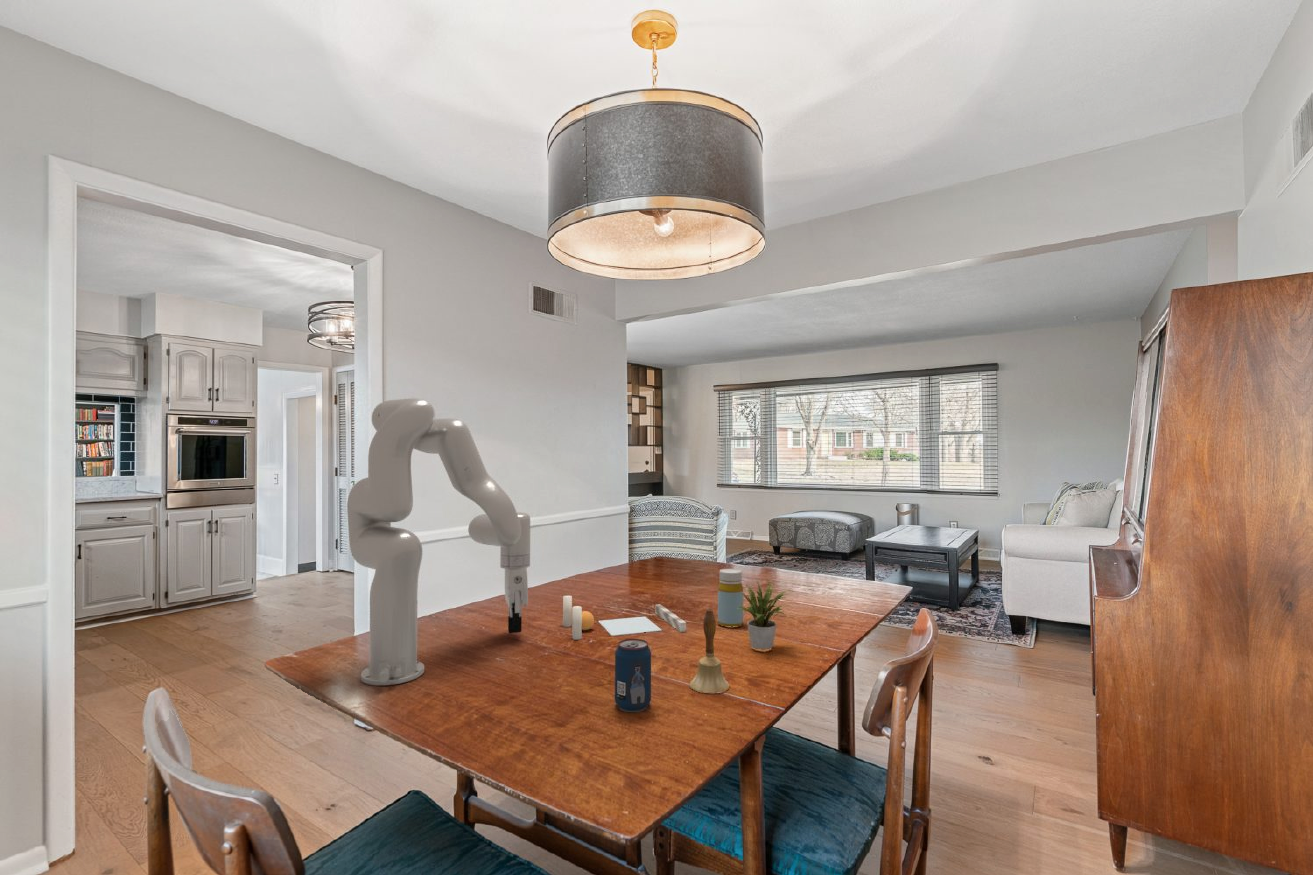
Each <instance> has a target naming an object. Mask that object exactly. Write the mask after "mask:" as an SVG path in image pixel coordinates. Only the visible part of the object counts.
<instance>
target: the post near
mask: <svg viewBox="0 0 1313 875" xmlns="http://www.w3.org/2000/svg"><path fill="white" fill-rule="evenodd" d="M582 611H583V607H582V606H580V605H575V606H572V626H571V627H572V630H571V633H572V634H571V635H572V637H571V638H572V640H574V641H579V640H581V639H582V638H583V633H582V631H583V630H582Z"/></svg>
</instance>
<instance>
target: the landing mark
mask: <svg viewBox="0 0 1313 875" xmlns="http://www.w3.org/2000/svg"><path fill="white" fill-rule="evenodd" d="M597 622H598V623H599V625H601V627H603V629H604V630H605V631H606V632H607V633H608V634H609V635H610V636H611V637H615V636H625V635H634V634H635V635H636V634H644V632H646V633H654V632H656V633H657V632H662V631H663V630H662V629H661V628H660V627H659V626H658V625H657V624H655V623H654V622H653V621H651V620H650V619H649V618H648V617H647V616H635V617H627V618H626V617H625V618H614V619H603V620H598V621H597Z"/></svg>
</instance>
